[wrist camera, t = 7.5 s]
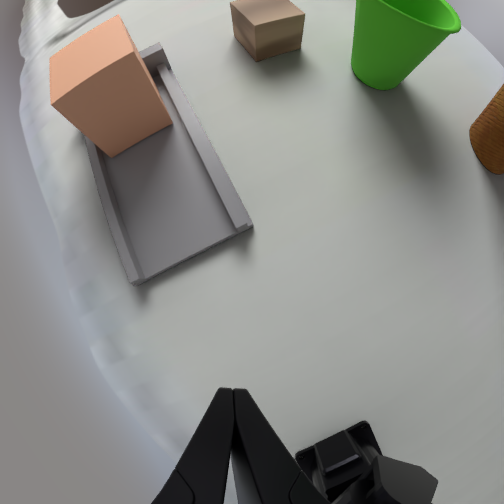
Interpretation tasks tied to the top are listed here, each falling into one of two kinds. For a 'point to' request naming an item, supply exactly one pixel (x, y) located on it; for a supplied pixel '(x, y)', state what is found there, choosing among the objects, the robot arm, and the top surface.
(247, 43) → the walnut block
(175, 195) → the track
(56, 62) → the terracotta block
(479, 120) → the disposable coffee cup
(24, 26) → the top surface
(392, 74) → the cup
